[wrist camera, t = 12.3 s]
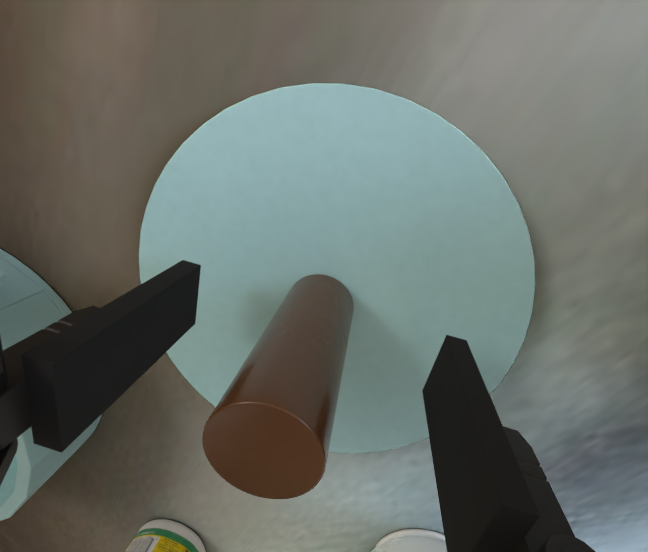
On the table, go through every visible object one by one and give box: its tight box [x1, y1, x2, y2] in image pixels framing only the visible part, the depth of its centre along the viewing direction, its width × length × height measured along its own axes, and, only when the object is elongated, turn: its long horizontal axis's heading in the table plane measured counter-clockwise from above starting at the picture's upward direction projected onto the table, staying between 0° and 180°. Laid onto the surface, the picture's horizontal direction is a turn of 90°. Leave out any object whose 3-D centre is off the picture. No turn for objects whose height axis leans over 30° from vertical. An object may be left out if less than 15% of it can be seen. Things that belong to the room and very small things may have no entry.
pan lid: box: [139, 83, 535, 499], centre depth 12 cm, size 18×18×9 cm
